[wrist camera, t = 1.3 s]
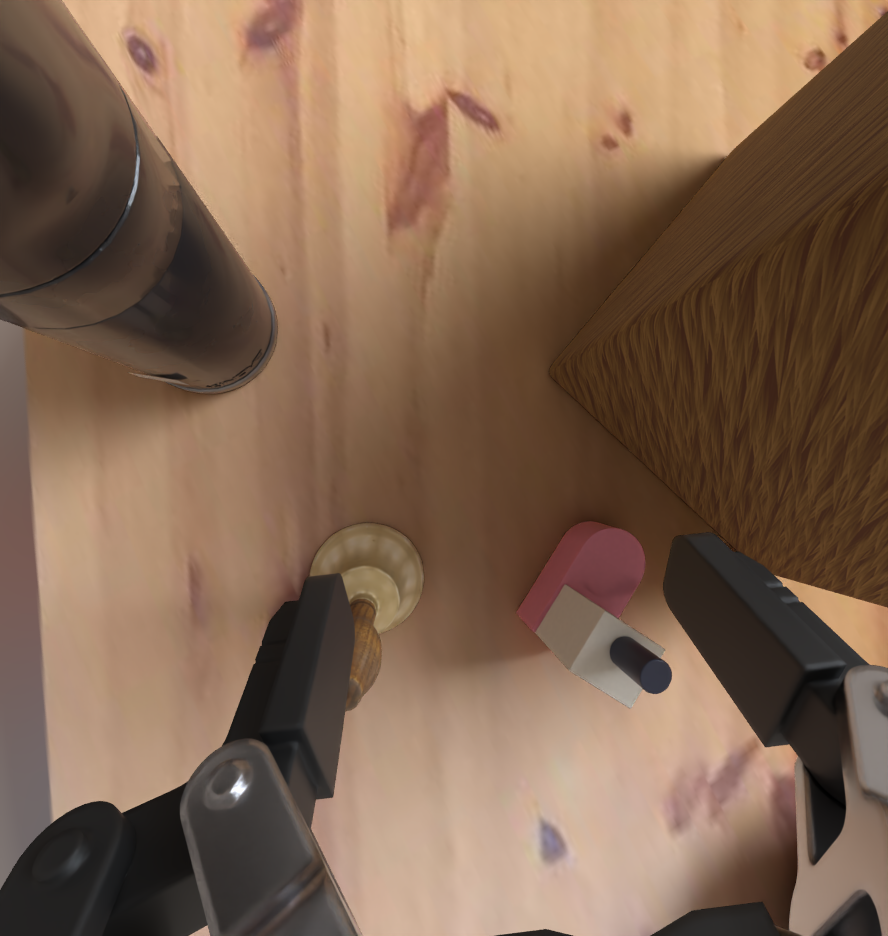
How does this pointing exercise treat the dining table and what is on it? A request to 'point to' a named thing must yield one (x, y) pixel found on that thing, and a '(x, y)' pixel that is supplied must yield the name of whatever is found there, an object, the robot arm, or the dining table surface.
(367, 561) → the hand bell
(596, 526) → the block stack
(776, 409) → the wood block
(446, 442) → the dining table surface
